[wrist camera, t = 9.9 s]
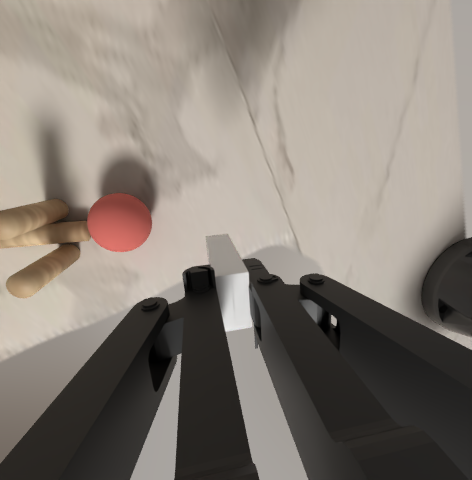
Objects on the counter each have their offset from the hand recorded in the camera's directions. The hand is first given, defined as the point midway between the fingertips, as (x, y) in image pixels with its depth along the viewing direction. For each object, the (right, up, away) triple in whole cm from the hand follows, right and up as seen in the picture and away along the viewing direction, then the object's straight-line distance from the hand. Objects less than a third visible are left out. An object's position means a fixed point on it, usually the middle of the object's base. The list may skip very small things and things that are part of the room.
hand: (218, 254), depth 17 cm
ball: (-11, +3, +9) cm, 14 cm away
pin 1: (-18, +4, +10) cm, 21 cm away
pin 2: (-18, -1, +12) cm, 21 cm away
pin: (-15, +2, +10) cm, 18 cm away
